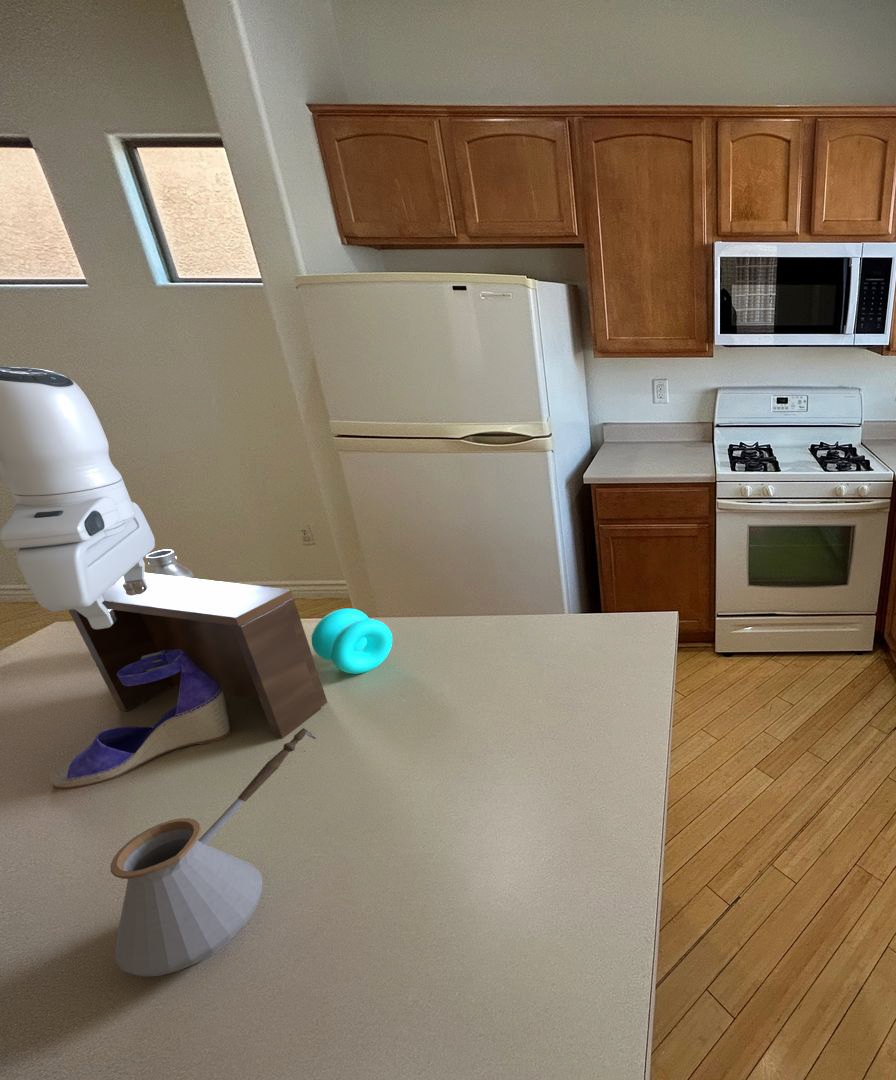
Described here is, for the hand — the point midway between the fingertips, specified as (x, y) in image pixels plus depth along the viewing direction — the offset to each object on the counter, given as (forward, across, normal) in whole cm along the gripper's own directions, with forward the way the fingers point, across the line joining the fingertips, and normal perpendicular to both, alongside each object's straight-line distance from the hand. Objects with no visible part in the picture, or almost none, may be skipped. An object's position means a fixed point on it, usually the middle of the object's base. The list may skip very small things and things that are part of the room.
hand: (122, 608), depth 72 cm
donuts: (+25, -16, +20) cm, 36 cm away
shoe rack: (+25, -11, +2) cm, 27 cm away
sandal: (+25, -3, -5) cm, 26 cm away
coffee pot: (+25, +29, +14) cm, 41 cm away
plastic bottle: (+25, -35, -8) cm, 44 cm away
